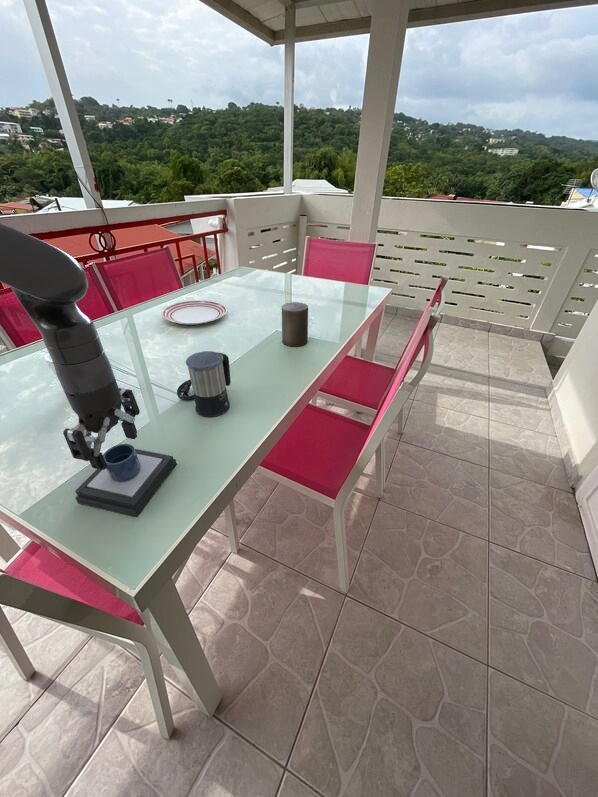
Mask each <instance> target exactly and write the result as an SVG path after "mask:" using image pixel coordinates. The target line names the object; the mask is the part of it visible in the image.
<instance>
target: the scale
mask: <svg viewBox="0 0 598 797" xmlns="http://www.w3.org/2000/svg"><path fill="white" fill-rule="evenodd" d="M135 451H136V454H140V455H145V456H150V457H155V458H160V459H163V462H162V463H161V464H160V465H159V467H158V468H157V469H156V470H155V472H154V473H153V474H152V475H151V477H150V478H149V479H148V480H147V482H146V483H145V484H144V485H143V486H142V488H141V489H140V490H139V491H138V493H137V494H136V495H135V496H134V498H133V499H132V498H128V497H124V496H119V495H115V494H111V493H106V492H102V491H98V490H93V489H89V488H88V487H87V485H88V484H89V483H90V482H91V481H92V480H93V479H94V478H95V477H96V476H97V475H98V474H99V473H100V472H101V471H102V470H100V469H95V470H94V471H93V472H92V473H91V474H90V475H89V476H88V477H87V478H86V480H84V481H83V482H82V484H80V485H79V486H78V487H77V488H76V489H75V490H74V492H75V494H76V497H75V500H76V502H77V504H80V505H83V506H88V507H93V508H96V509H101V510H105V511H109V512H114V513H117V514H121V515H126V516H129V517H135V518H138V517H139V515H140V514H141V513H142V511H143V510H144V509H145V507H146V506H147V504H149V502H150V501H151V499H152V498H153V497H154V495H155V494H156V493H157V492H158V490H159V489H160V487H161V486H162V485H163V483H164V482H165V481H166V479H167V478H168V477H169V475H171V473H172V471H173V470H174V469H175V468H176V466H177V465H178V463H177V458H174V456H173V455H169V454H164V453H160V452H155V451H154V452H153V451H148V450H143V449H139V448H135Z"/></svg>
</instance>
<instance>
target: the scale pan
mask: <svg viewBox="0 0 598 797" xmlns="http://www.w3.org/2000/svg"><path fill="white" fill-rule="evenodd" d="M137 457H138V459H139V462H140V465H141V467H140V470H139V472H138V473H137V474H136V475H135V476H134V477H133V478H131V479H129V480H126V481H115V480H112V479H111V478H110V476H109V474H108V472H107V470H106V469H105V470H102V471H101V472H100V473H99V474H98V475H97V476H96V477H95V478H94V479H93V480H92V481H91V482H90V483H89V484H88V485H87V487H88V488H89V489H93V490H98V491H102V492H106V493H111V494H115V495H119V496H124V497H128V498H132V499H133V498H134V496H135V495H136V494H137V493H138V491H139V490H140V489H141V488H142V486H143V485H144V484H145V483H146V482H147V480H148V479H149V478H150V477H151V475H152V474H153V473H154V472H155V470H156V469H157V468H158V467H159V465H160V464H161V463H162V462H163V459H160V458H155V457H150V456H145V455H140V454H137Z"/></svg>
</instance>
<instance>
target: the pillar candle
mask: <svg viewBox="0 0 598 797" xmlns="http://www.w3.org/2000/svg"><path fill="white" fill-rule="evenodd" d="M280 307H281V340H282V341H281V343H282V344H283V345H284V346H287V347H291V348H299V347H303V346H306V345H307V344H308V340H309V339H308V337H309V305H308V304H307V303H303V302H300V301H293V302H292V301H291V302H287V303H284V304H282V305H281V306H280Z"/></svg>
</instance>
